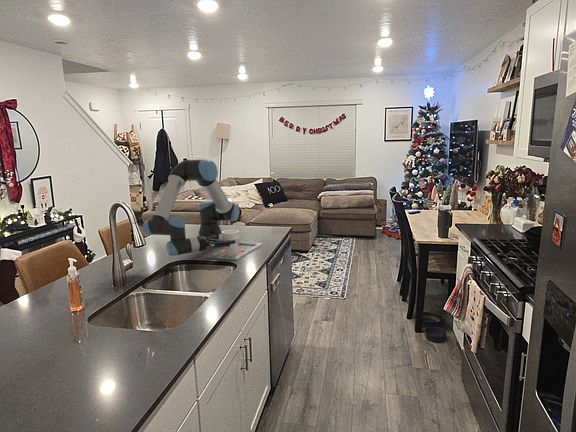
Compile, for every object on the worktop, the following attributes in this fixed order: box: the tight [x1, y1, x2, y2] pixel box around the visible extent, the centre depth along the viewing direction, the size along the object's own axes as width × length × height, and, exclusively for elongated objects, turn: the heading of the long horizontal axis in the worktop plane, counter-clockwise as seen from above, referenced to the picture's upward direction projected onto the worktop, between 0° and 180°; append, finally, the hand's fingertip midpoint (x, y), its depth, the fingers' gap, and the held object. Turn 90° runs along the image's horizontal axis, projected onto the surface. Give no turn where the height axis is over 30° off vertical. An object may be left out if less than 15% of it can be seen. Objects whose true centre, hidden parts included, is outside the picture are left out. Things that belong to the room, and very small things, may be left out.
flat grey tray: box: [210, 240, 263, 261], centre depth 220 cm, size 31×16×1 cm, turn 158°
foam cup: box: [221, 229, 240, 256], centre depth 212 cm, size 10×9×13 cm
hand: (234, 237), depth 212 cm, fingers open, 13 cm apart
